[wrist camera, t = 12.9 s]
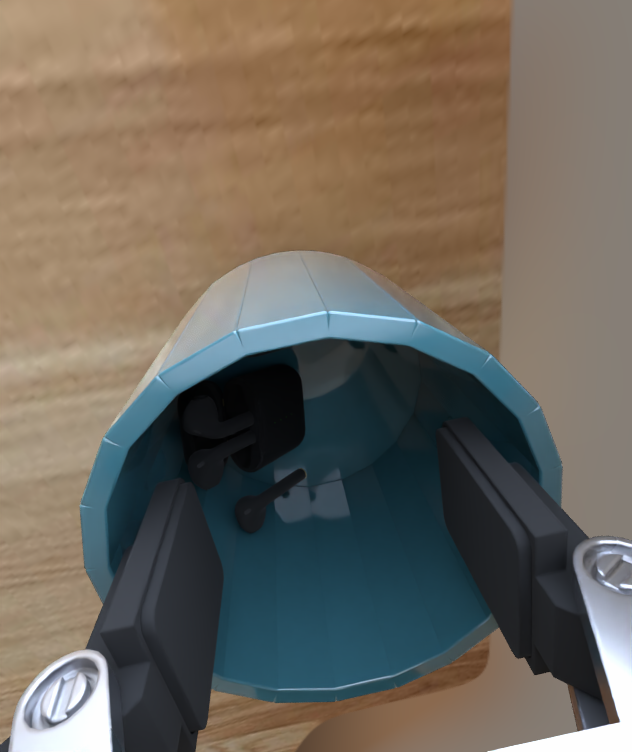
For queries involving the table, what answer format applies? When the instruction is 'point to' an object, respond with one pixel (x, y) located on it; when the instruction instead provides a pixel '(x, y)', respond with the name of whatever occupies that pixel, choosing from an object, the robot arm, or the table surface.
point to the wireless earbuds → (244, 431)
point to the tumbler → (324, 478)
